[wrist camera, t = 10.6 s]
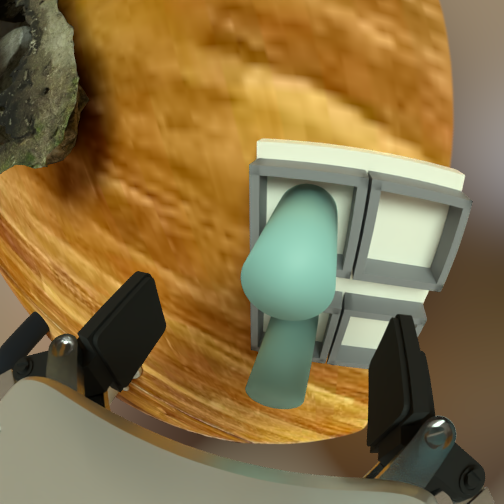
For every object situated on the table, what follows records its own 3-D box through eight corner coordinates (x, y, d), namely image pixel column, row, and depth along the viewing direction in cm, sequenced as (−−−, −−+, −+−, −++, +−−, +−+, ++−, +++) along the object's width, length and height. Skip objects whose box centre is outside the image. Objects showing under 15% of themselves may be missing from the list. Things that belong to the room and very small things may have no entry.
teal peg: (341, 187, 16) (343, 252, 10) (333, 243, 18) (326, 327, 12) (279, 180, 17) (239, 236, 11) (277, 235, 19) (242, 312, 13)
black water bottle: (33, 307, 50) (-34, 382, 26) (49, 325, 51) (-17, 404, 27) (34, 317, 54) (-26, 387, 29) (49, 333, 55) (-10, 406, 30)
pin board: (393, 347, 23) (395, 431, 16) (260, 327, 27) (228, 407, 19) (456, 169, 14) (531, 230, 6) (262, 138, 17) (199, 172, 10)
